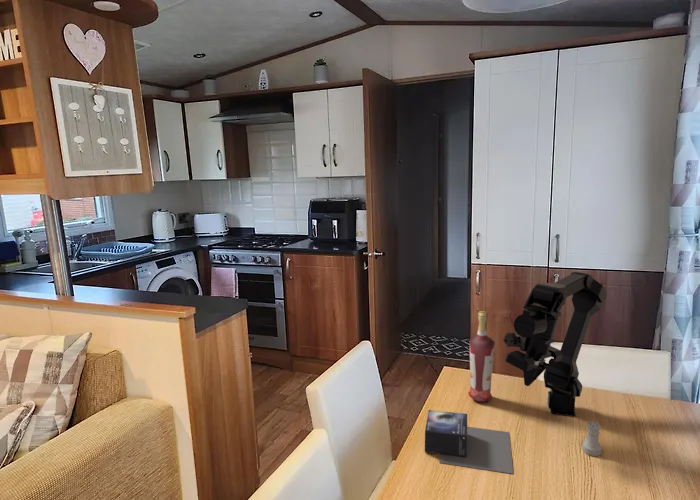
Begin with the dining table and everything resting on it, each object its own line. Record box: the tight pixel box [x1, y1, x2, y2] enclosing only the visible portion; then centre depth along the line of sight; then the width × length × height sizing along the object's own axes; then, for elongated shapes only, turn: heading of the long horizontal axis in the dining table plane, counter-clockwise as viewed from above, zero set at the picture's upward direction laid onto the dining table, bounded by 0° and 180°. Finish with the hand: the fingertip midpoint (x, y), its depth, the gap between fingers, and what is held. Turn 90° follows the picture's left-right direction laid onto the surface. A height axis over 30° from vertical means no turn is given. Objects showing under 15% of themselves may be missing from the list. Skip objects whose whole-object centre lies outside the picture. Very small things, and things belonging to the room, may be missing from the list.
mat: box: [439, 426, 514, 475], centre depth 118 cm, size 17×17×1 cm
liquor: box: [468, 310, 495, 403], centre depth 138 cm, size 7×7×28 cm
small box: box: [424, 409, 468, 457], centre depth 119 cm, size 11×6×10 cm
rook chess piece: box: [581, 419, 603, 457], centre depth 114 cm, size 4×4×8 cm
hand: (526, 385), depth 123 cm, fingers closed
